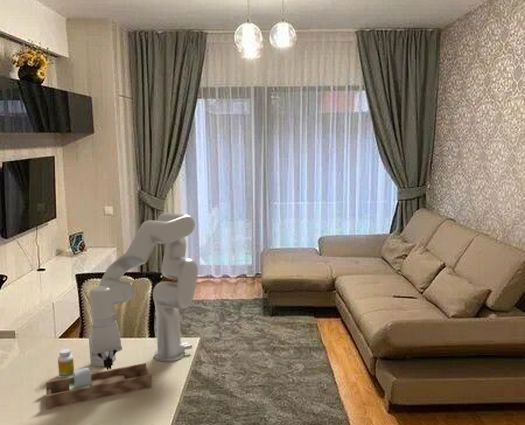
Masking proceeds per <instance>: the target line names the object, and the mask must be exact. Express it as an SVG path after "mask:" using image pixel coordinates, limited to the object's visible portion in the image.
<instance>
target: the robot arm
mask: <svg viewBox="0 0 525 425" xmlns="http://www.w3.org/2000/svg"><path fill="white" fill-rule="evenodd" d="M195 225H196V223H195V220H194V217H192V216H191V215H188V214H184V213H175V212H174V213H173V212H163V213H161V214H159V215H158V217H157V220H145V221H144V222H142V224H141V225H140V227H139V228H138V230H137V232H136V234H135V236H134V238H133V239H132V241H131V243H130V245H129V246H128V248H127V249H126V252H124V253H123V254H122V255H120V256H119V257H118V258H116V259H115V261H113V262H112V263H111V264H110V265H108V267H107V269H106V270H105V272H104V274H103V275H102V278H101V279H100V281H99V284H98V286H96V287H93V288H91V289H90V291H89V301H90V311H91V319H92V324H90V330H89V332H90V334H89V335H90V340H91V348H92V352H91V355H92V356H99V357H100V358H102V359H103V361H104V367H103V368H106V370H111V369H112V366H114V361H112V358H113V356H114V355H115V356H116V354H117V353H118V352H121V351H122V350H123V347H122V339H121V334H120V329H119V325H118V321H117V320H118V319H119V318H120V317H119V314H115V311H114V306H115V305H118V304H123V303H126V302H129V301H131V299H132V298H133V297H134V295H135V288H134V286H133V285H132V284H131V283H129V282H127V281H124V280H120V279H122V277H123V276H124V274H125V273H127V272H128V271H130V270H131V269H134V268H137V267H140V266H142V265H144V264H146V263H147V262H148V261H149V258H150V257H151V254H152V253H153V251H154V249H155V247H156V245H157V244H163V245H164V244H165V247H164V253H163V259H162V263H161V275H162V276H163V277H165V278H167V279H170V280H175V281H177V282H171V281H161V282H158V283H156V285H155V286H154V288H153V290H152V299H153V302H154V306H155V315H156V316H155V318H156V341H157V342H156V344H157V346H156V347H157V350H155V351H154V354H153V359H155V360H156V361H159V362H161V363H162V362H163V363H164V362H165V363H167V362H175V361H178V360H181V359H182V358H183V357H184V356H185V350H190V349H193V345H192V343H190V344H188V342H184V343H182V342H181V318H180V317H181V316H180V310H185V309H188V308H189V307H190V306H191V304H192V302H193V300H194V297H195V291H196V285H197V280H198V276H199V275H198V274H199V269H198V264H197V263H196V261H195V260H193V259H192V258H189V257H186V253H187V252H186V251H187V241H186V237H188V236H190V235H191V234H192V233H193V232H194V230H195ZM107 351H109V355H108V357H107V356H106V355H105V352H107Z"/></svg>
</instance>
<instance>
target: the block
mask: <svg viewBox="0 0 525 425" xmlns="http://www.w3.org/2000/svg"><path fill="white" fill-rule="evenodd" d="M73 373H74V374H73V376H74V386H75V388H80V387H85V386H92V383H91V373H92V372H91V371H90V368H89V367H83V368H81V369H80V368H79V369H77V370H75V369H74V371H73Z"/></svg>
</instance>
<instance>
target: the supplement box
mask: <svg viewBox="0 0 525 425" xmlns="http://www.w3.org/2000/svg"><path fill="white" fill-rule="evenodd" d="M88 344H89V346H88V347H89V358H90V366H92V367H93V366H94V367H100V368H101V367H102V368H105V367H104V361H103V359H102V358H100V357H99V356H92V355H91V352H92V348H91V340H90V334H89V335H88ZM105 355H106V356H107V357H108V355H109V351H107V352H105ZM116 358H117V357H116V354H115V355H114V356H113V358H112V361H113V362H115V361H116Z"/></svg>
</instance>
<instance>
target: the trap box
mask: <svg viewBox="0 0 525 425" xmlns="http://www.w3.org/2000/svg"><path fill="white" fill-rule="evenodd" d="M91 383H92V386H85V387H80V388H75V386H74V375H72V376H70V377H66V378H59V379H53V380H48V381H45V392H46V393H45V405H46V410H48V409H53V408H57V407H62V406H67V405H68V406H69V405H73V404H77V403H82V402H87V401H92V400H96V399H101V398H104V397H106V398H107V397H110V396H115V395H121V394H126V393H129V392H135V391H139V390H143V389H149V388H152V387H153V384H152V374H151V373H150V374H149V371H148V370H147V363H146V362H144V363H139V364H133V365H128V366H124V367H117V368H113V369H112V368H111V369H108V370H107V369H106V370H101V371H96V372H91Z"/></svg>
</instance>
